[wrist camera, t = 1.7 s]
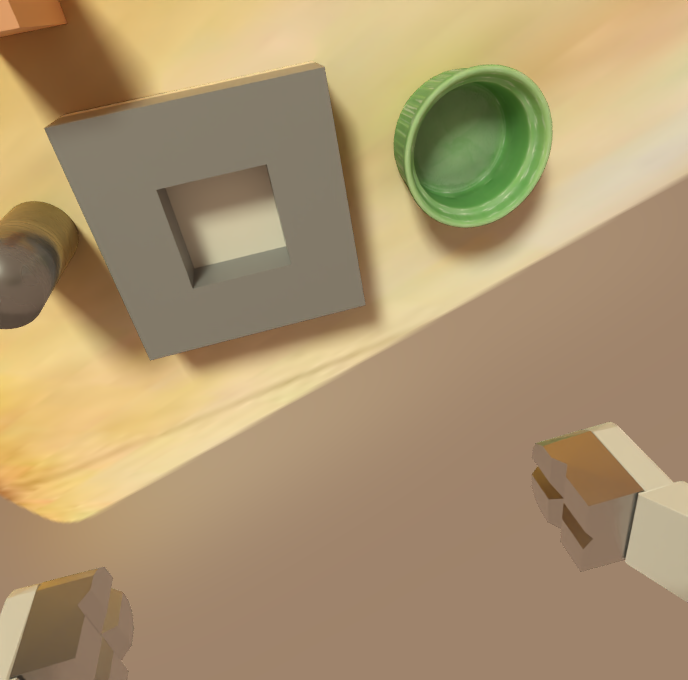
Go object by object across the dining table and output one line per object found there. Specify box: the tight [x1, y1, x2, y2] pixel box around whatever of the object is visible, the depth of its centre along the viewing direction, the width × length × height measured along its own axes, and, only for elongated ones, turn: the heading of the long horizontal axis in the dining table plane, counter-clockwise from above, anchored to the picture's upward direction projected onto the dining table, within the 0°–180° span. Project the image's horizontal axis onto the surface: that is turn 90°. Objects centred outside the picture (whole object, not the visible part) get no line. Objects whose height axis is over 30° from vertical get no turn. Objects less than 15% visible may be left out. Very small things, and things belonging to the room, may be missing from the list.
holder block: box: [44, 61, 365, 360], centre depth 32 cm, size 14×14×4 cm
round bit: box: [0, 201, 78, 329], centre depth 29 cm, size 4×4×8 cm
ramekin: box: [394, 65, 552, 228], centre depth 33 cm, size 9×9×4 cm
